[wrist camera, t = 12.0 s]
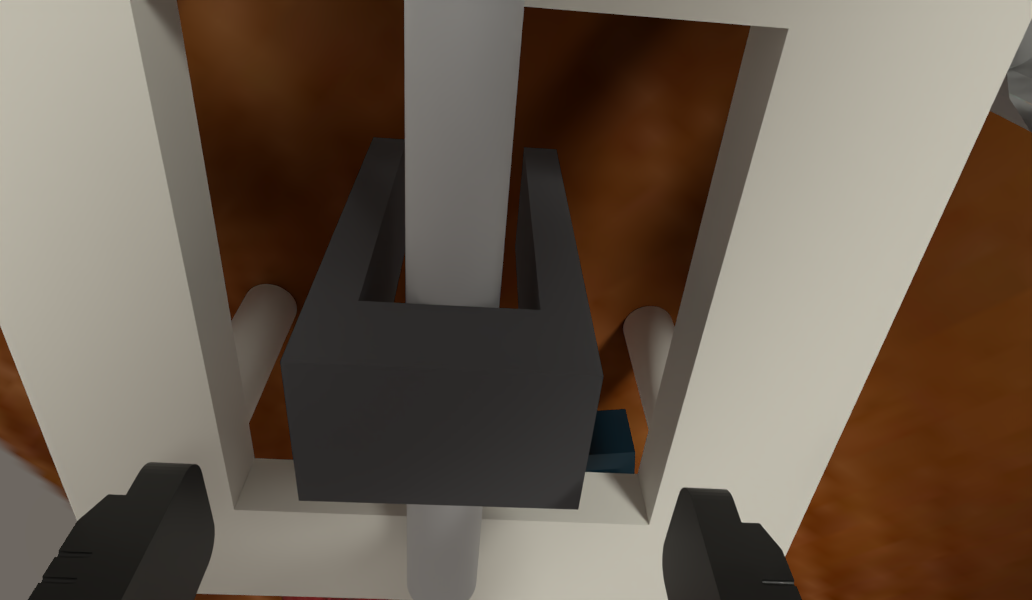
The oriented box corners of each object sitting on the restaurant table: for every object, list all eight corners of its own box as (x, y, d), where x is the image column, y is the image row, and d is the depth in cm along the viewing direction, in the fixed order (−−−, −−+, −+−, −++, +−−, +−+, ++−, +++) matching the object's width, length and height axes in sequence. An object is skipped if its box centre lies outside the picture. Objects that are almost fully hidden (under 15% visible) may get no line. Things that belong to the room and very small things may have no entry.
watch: (506, 416, 37) (509, 606, 28) (658, 406, 37) (712, 594, 27) (514, 489, 40) (519, 682, 31) (654, 480, 40) (701, 671, 31)
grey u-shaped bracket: (556, 149, 21) (603, 376, 12) (544, 248, 23) (578, 509, 14) (373, 137, 21) (280, 361, 12) (376, 239, 23) (298, 501, 14)
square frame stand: (807, -181, 23) (1250, -223, 9) (671, 352, 35) (781, 669, 21) (149, -249, 21) (-431, -411, 8) (242, 329, 33) (71, 653, 20)
